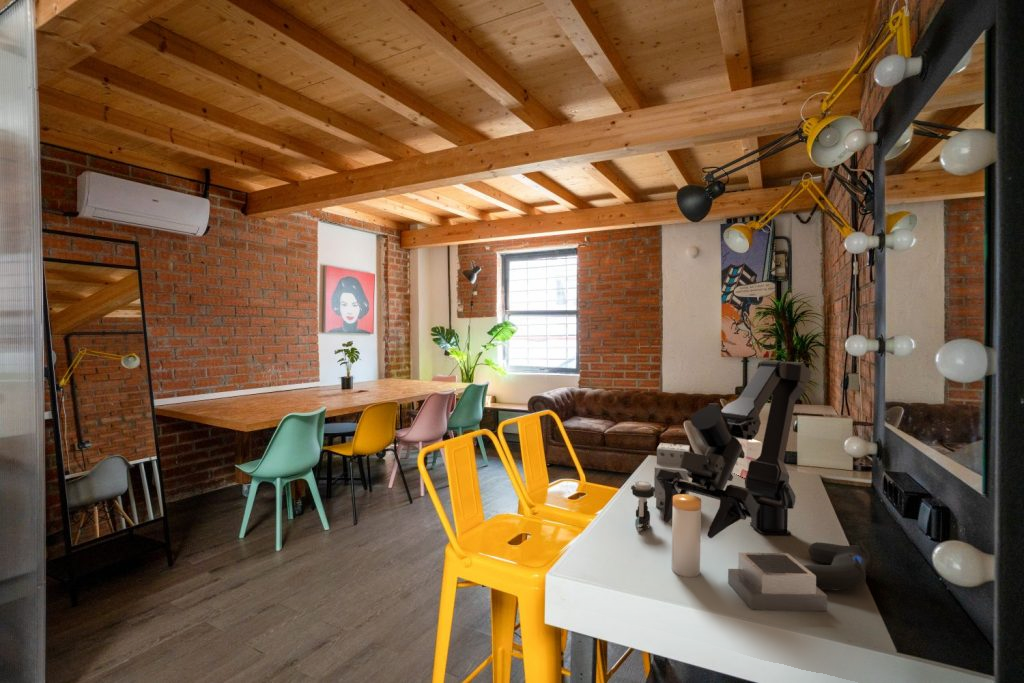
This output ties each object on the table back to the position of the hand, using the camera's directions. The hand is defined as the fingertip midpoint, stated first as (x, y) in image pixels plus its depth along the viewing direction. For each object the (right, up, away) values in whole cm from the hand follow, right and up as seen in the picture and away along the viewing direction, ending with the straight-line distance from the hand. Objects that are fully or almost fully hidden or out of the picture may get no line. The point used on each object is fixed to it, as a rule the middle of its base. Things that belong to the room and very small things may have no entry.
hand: (686, 529), depth 95 cm
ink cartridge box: (+41, -8, +66) cm, 78 cm away
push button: (-3, -8, +21) cm, 23 cm away
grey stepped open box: (+12, -8, -9) cm, 17 cm away
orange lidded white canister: (0, -8, 0) cm, 8 cm away
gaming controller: (+26, -9, -2) cm, 28 cm away
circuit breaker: (+8, -8, +35) cm, 37 cm away
